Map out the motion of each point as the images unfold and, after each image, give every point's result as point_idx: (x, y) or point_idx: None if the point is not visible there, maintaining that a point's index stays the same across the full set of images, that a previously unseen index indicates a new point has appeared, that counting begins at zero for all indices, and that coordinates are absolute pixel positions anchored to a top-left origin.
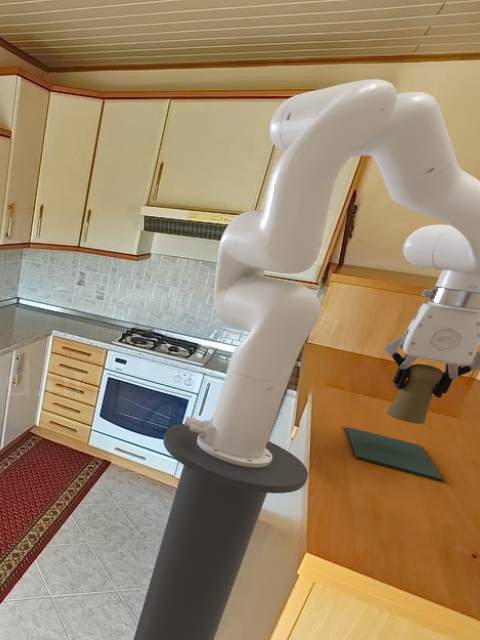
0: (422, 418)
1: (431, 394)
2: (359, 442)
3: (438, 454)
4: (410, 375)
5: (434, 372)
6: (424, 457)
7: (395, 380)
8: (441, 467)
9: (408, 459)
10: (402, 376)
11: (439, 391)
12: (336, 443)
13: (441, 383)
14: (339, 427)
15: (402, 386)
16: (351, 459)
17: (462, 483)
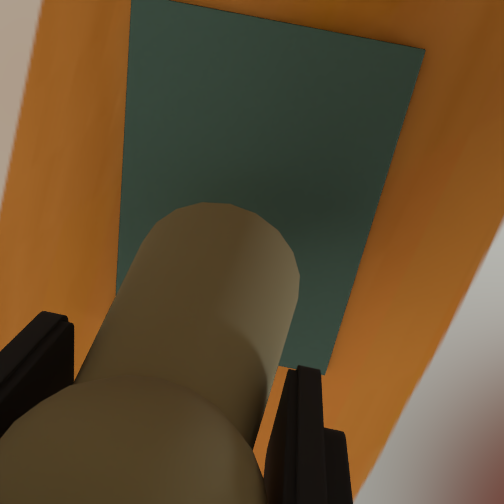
0: (159, 230)
1: (95, 342)
2: (342, 233)
3: (70, 292)
4: (259, 477)
5: (49, 484)
6: (133, 211)
7: (345, 441)
8: (94, 165)
9: (203, 149)
10: (322, 464)
11: (42, 343)
12: (440, 191)
13: (6, 403)
14: (345, 373)
15: (293, 382)
16: (457, 19)
17: (62, 30)
